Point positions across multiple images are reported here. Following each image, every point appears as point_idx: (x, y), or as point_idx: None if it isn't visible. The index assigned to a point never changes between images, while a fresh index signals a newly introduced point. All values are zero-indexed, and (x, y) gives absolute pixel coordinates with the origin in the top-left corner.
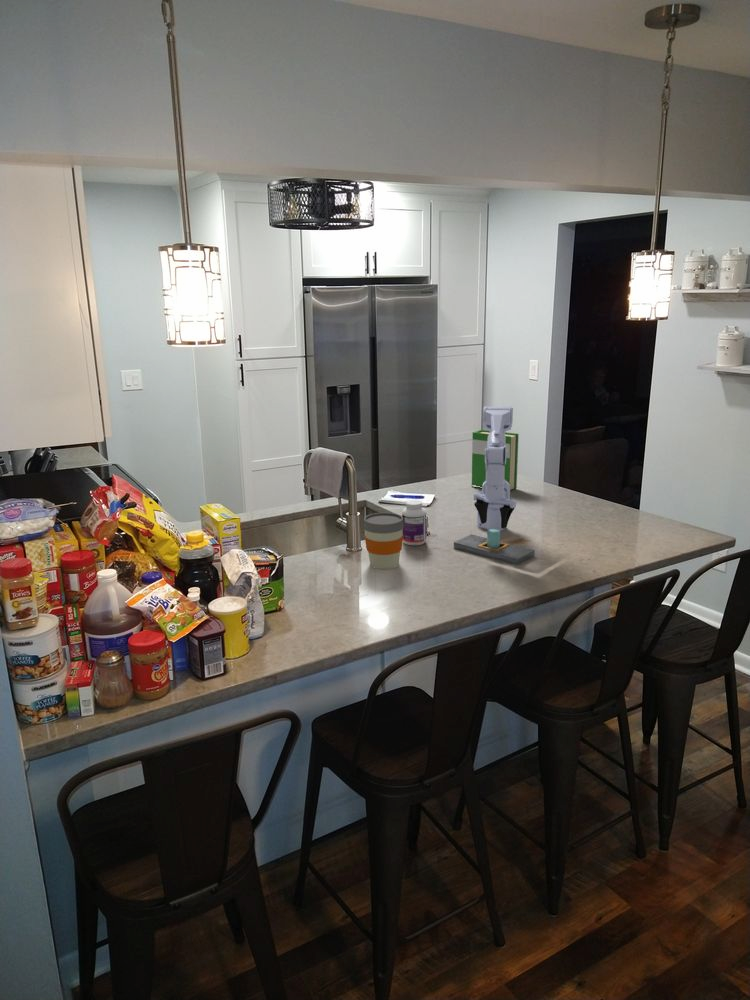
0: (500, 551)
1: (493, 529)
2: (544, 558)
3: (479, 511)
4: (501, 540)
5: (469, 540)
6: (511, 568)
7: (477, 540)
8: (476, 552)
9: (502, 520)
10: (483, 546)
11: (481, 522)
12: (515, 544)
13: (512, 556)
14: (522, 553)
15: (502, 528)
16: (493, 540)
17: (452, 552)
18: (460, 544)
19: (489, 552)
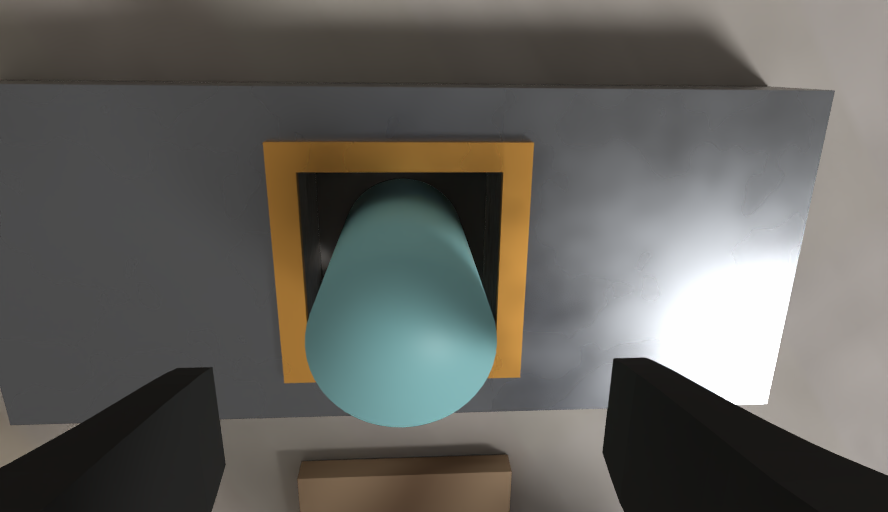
0: (234, 167)
1: (451, 405)
2: (15, 434)
3: (834, 480)
4: (504, 510)
5: (702, 247)
6: (35, 33)
7: (630, 300)
8: (505, 85)
9: (78, 444)
10: (464, 161)
11: (646, 362)
12: (356, 506)
13: (23, 115)
14: (15, 266)
15: (191, 368)
16: (357, 237)
17: (760, 39)
18: (737, 89)
19: (331, 85)
